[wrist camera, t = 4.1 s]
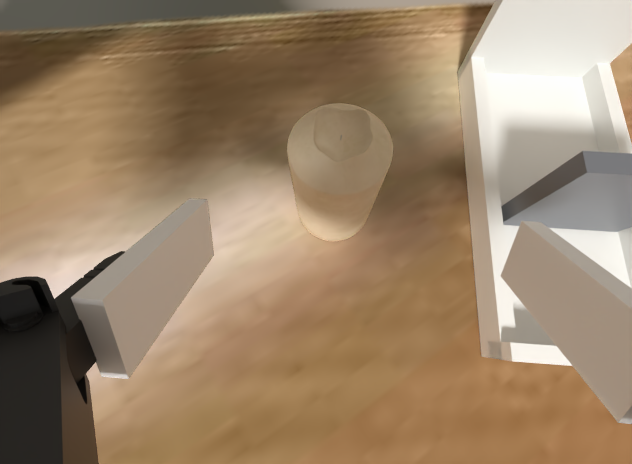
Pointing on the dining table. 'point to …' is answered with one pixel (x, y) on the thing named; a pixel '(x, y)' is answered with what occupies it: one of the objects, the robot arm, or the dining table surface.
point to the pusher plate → (579, 195)
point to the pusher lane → (537, 142)
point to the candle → (337, 168)
